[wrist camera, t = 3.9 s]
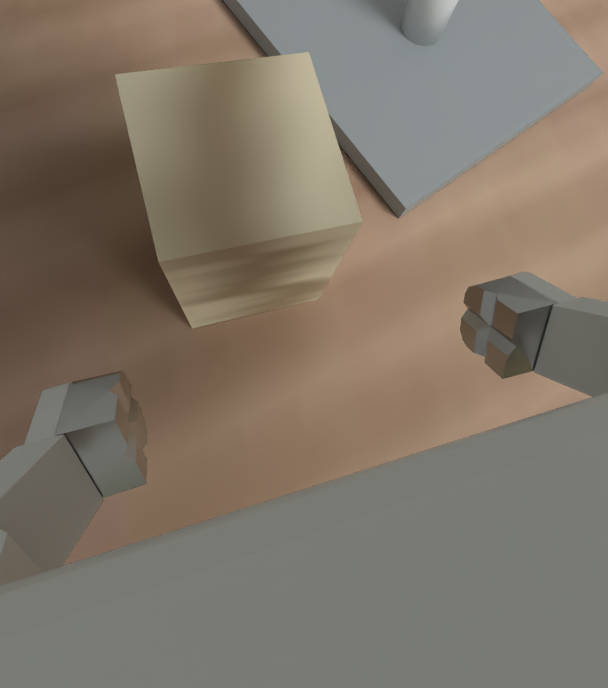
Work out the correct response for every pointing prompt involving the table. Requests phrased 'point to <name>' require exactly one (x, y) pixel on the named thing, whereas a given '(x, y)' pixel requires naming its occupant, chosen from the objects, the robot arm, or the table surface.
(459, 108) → the post base
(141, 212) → the table surface
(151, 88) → the beige block
